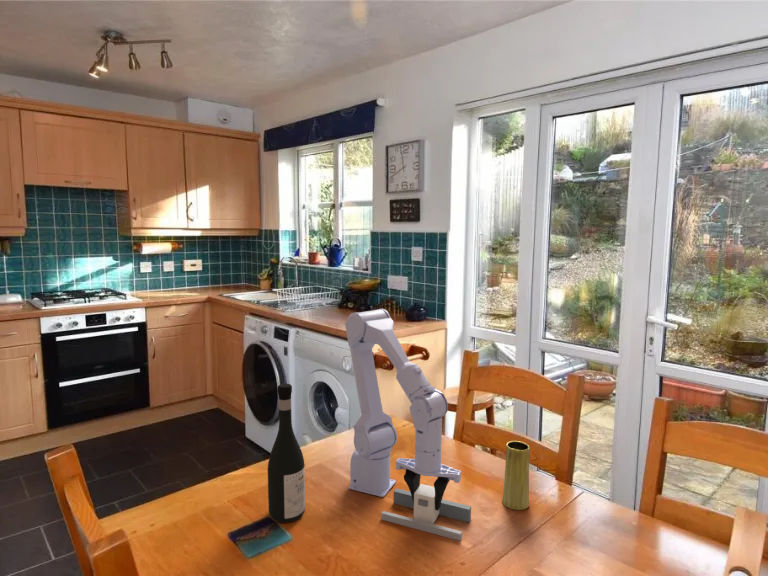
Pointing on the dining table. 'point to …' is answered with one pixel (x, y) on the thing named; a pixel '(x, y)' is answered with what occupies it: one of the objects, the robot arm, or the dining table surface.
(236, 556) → the dining table surface
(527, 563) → the dining table surface
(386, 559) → the dining table surface
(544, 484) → the dining table surface
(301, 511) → the wine bottle
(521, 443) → the vase
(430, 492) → the cabinet block
